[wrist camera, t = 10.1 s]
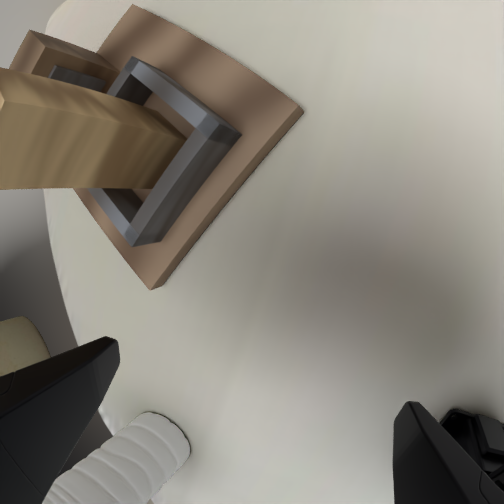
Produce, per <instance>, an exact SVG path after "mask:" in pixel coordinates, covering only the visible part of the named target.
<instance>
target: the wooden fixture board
mask: <svg viewBox="0 0 504 504" xmlns="http://www.w3.org/2000/svg"><path fill="white" fill-rule="evenodd" d="M9 69H10V70H15V71H20V72H24V73H29V74H33V75H38V76H42V77H46V78H50V79H54V80H58V81H62V82H66V83H69V84H73V85H77V86H80V87H84V88H87V89H91V90H94V91H97V92H101V93H104V94H107V95H111V96H114V97H117V98H120V99H123V100H126V101H129V102H132V103H135V104H138V105H141V106H144V107H147V108H150V109H153V110H156V111H158V112H159V113H160V114H161V115H162V116H163V117H164V118H165V119H166V120H168V121H169V122H170V123H171V124H172V125H173V126H174V127H175V128H176V129H177V130H179V131H180V132H181V133H182V134H183V135H184V136H185V137H186V138H187V141H186V142H185V143H184V145H183V146H182V148H181V149H180V150H179V152H178V153H177V154H176V156H175V157H174V159H173V160H172V161H171V163H170V164H169V166H168V167H167V169H166V170H165V171H164V173H163V174H162V176H161V177H160V179H159V180H158V182H157V183H156V185H155V186H154V188H153V189H126V188H73V189H74V190H75V192H76V193H77V195H78V196H79V198H80V199H81V201H82V202H83V204H84V205H85V206H86V208H87V209H88V211H89V212H90V214H91V215H92V216H93V218H94V219H95V221H96V222H97V223H98V225H99V226H100V227H101V229H102V230H103V231H104V233H105V234H106V236H107V237H108V238H109V240H110V241H111V242H112V244H113V245H114V246H115V247H116V249H117V250H118V251H119V253H120V254H121V255H122V257H123V258H124V259H125V260H126V262H127V263H128V264H129V266H130V267H131V268H132V269H133V271H134V272H135V273H136V274H137V276H138V277H139V278H140V279H141V280H142V282H143V283H144V284H145V285H146V287H147V288H148V289H149V290H153V289H155V288H158V287H160V286H162V285H163V284H164V282H165V281H166V280H167V279H168V277H169V276H170V275H171V273H172V272H173V271H174V269H175V268H176V267H177V265H178V264H179V263H180V262H181V260H182V259H183V258H184V256H185V255H186V254H187V252H188V251H189V250H190V249H191V247H192V246H193V245H194V243H195V242H196V241H197V240H198V238H199V237H200V236H201V235H202V233H203V232H204V231H205V230H206V228H207V227H208V226H209V225H210V223H211V222H212V221H213V220H214V218H215V217H216V216H217V215H218V213H219V212H220V211H221V210H222V208H223V207H224V206H225V205H226V203H227V202H228V201H229V200H230V199H231V197H232V196H233V195H234V194H235V192H236V191H237V190H238V189H239V188H240V186H241V185H242V184H243V183H244V182H245V180H246V179H247V178H248V177H249V176H250V174H251V173H252V172H253V171H254V170H255V168H256V167H257V166H258V165H259V164H260V162H261V161H262V160H263V159H264V158H265V157H266V155H267V154H268V153H269V152H270V151H271V150H272V148H273V147H274V146H275V145H276V144H277V143H278V141H279V140H280V139H281V138H282V137H283V136H284V135H285V133H286V132H287V131H288V130H289V129H290V128H291V127H292V125H293V124H294V123H295V122H296V121H297V120H298V119H299V118H300V116H301V115H302V114H303V113H304V111H303V110H302V109H301V107H300V106H299V105H298V104H297V103H295V102H294V101H293V100H291V99H290V98H289V97H287V96H286V95H285V94H283V93H282V92H280V91H279V90H278V89H276V88H275V87H274V86H272V85H271V84H269V83H268V82H267V81H265V80H264V79H262V78H261V77H259V76H258V75H256V74H255V73H253V72H252V71H250V70H249V69H247V68H246V67H244V66H243V65H241V64H240V63H238V62H237V61H235V60H234V59H232V58H231V57H229V56H227V55H226V54H224V53H223V52H221V51H219V50H218V49H216V48H214V47H213V46H211V45H209V44H208V43H206V42H204V41H203V40H201V39H199V38H197V37H196V36H194V35H192V34H190V33H189V32H187V31H185V30H183V29H181V28H179V27H178V26H176V25H174V24H172V23H170V22H168V21H166V20H164V19H162V18H160V17H158V16H156V15H154V14H152V13H150V12H148V11H146V10H144V9H142V8H140V7H138V6H135V5H133V4H132V5H131V7H130V8H129V9H128V10H127V12H126V13H125V14H124V15H123V17H122V18H121V19H120V21H119V22H118V23H117V25H116V26H115V27H114V29H113V30H112V31H111V33H110V34H109V36H108V37H107V38H106V40H105V41H104V43H103V44H102V46H101V47H100V48H99V50H98V51H97V53H95V52H92V51H89V50H87V49H84V48H82V47H79V46H76V45H74V44H71V43H68V42H65V41H62V40H60V39H57V38H54V37H51V36H48V35H45V34H42V33H38V32H35V31H32V30H29V31H28V33H27V35H26V37H25V39H24V40H23V42H22V44H21V46H20V48H19V50H18V52H17V54H16V55H15V57H14V59H13V61H12V64H11V65H10V68H9Z"/></svg>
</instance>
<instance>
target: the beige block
mask: <svg viewBox="0 0 504 504" xmlns="http://www.w3.org/2000/svg"><path fill="white" fill-rule="evenodd" d="M186 141H187V138H186V137H185V136H184V135H183V134H182V133H181V132H180V131H179V130H177V129H176V128H175V127H174V126H173V125H172V124H171V123H170V122H169V121H168V120H166V119H165V118H164V117H163V116H162V115H161V114H160V113H159V112H158V111H156V110H153V109H150V108H147V107H144V106H141V105H138V104H135V103H132V102H129V101H126V100H123V99H120V98H117V97H114V96H111V95H107V94H104V93H101V92H97V91H94V90H91V89H87V88H84V87H80V86H77V85H73V84H69V83H66V82H62V81H58V80H54V79H50V78H46V77H42V76H38V75H33V74H29V73H24V72H20V71H15V70H10V69H5V68H0V190H8V189H38V188H126V189H153V188H154V186H155V185H156V183H157V182H158V180H159V179H160V177H161V176H162V174H163V173H164V171H165V170H166V169H167V167H168V166H169V164H170V163H171V161H172V160H173V159H174V157H175V156H176V154H177V153H178V152H179V150H180V149H181V148H182V146H183V145H184V143H185V142H186Z"/></svg>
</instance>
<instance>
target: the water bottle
mask: <svg viewBox="0 0 504 504" xmlns="http://www.w3.org/2000/svg"><path fill="white" fill-rule="evenodd" d="M189 455H190V446H189V443H188V440H187V439H186V438H184V434H183V433H182V431H181V430H180V429H179V428H178V427H177V426H176V425H175V424H173V423H170V421H169V420H168V419H167V418H165V417H163V416H161V415H159V414H153V413H151V412H146V413H142V414H140V415H139V416H137V417H136V418H135V419H134V420H133V421H131V422H130V423H129V424H128V425H127V426H126V427H125V428H123V429H122V430H120V431H119V432H118V433H116V434H115V435H114V436H113V438H111V439H109V440H107V441H106V442H105V443H104V444H102V445H101V448H100V449H96V450H94V451H93V452H92V453H91V454H89V456H88V457H87V458H85V459H83V460H81V461H80V462H78V463H77V464H76V465H75V466H73V468H72V469H71V470H69V471H66V472H65V473H63V474H62V475H61V476H59V477H58V478H57V479H56V480H55V481H54V483H53V484H52V486H51V488H50V490H49V491H48V493H47V495H46V497H44V498H45V499H44V501H43V503H42V504H147V502H148V499H150V498H152V497H153V496H154V495H155V494H156V493H157V492H158V491H159V490H160V489H161V487H162V486H163V484H165V483H166V482H167V481H168V480H169V479H170V478H171V477H172V476H173V474H174V472H176V471H177V470H178V469H179V468H180V467H181V466H182V465H183V463H184V462H185V461H186V460H187V459H188V457H189Z"/></svg>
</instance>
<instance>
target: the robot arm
mask: <svg viewBox="0 0 504 504" xmlns="http://www.w3.org/2000/svg"><path fill="white" fill-rule="evenodd" d="M119 364H120V354H119V344H118V341H117V340H116V339H113V338H110V337H107V336H105V337H102V338H99V339H97V340H94V341H92V342H89V343H87V344H84V345H82V346H79V347H76V348H74V349H72V350H69V351H66V352H64V353H61V354H58V355H56V356H53V357H51V358H48V359H45V360H43V361H40V362H38V363H35V364H32V365H30V366H27V367H24V368H22V369H19V370H16V371H15V372H11V373H8V374H6V375H3V376H0V504H42V503H43V501H44V499H45V498H44V497H46V495H47V493H48V491H49V490H50V488H51V486H52V484H53V483H54V481H55V479H56V477H57V476H58V474H59V472H60V470H61V469H62V467H63V465H64V463H65V462H66V460H67V459H68V457H69V455H70V454H71V452H72V450H73V449H74V447H75V445H76V443H77V442H78V440H79V439H80V437H81V435H82V434H83V432H84V430H85V428H86V427H87V425H88V424H89V422H90V420H91V419H92V417H93V416H94V414H95V412H96V411H97V409H98V408H99V406H100V404H101V402H102V400H103V398H104V396H105V394H106V392H107V390H108V388H109V386H110V384H111V382H112V379H113V377H114V375H115V373H116V371H117V369H118V367H119ZM453 415H455V416H454V417H452V416H453ZM503 430H504V424H501V423H500V422H499V421H498V420H495V419H492V418H489V417H486V416H483V415H480V414H475V415H474V414H471V413H468V412H465V411H462V410H459V409H452V410H450V411H449V412H448V413H447V415H446V416H445V417H444V419H443V420H442V421H441V422H440V424H439V423H438V422H437V421H436V419H435V418H434V417H433V416H432V415H431V414H430V413H429V412H428V411H427V410H426V409H425V408H424V407H423V406H422V405H421V404H420V403H419V402H414V401H408V402H406V403H405V404H404V406H403V407H402V409H401V410H400V412H399V413H398V415H397V416H396V418H395V421H394V437H393V480H394V503H395V504H504V431H503Z"/></svg>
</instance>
